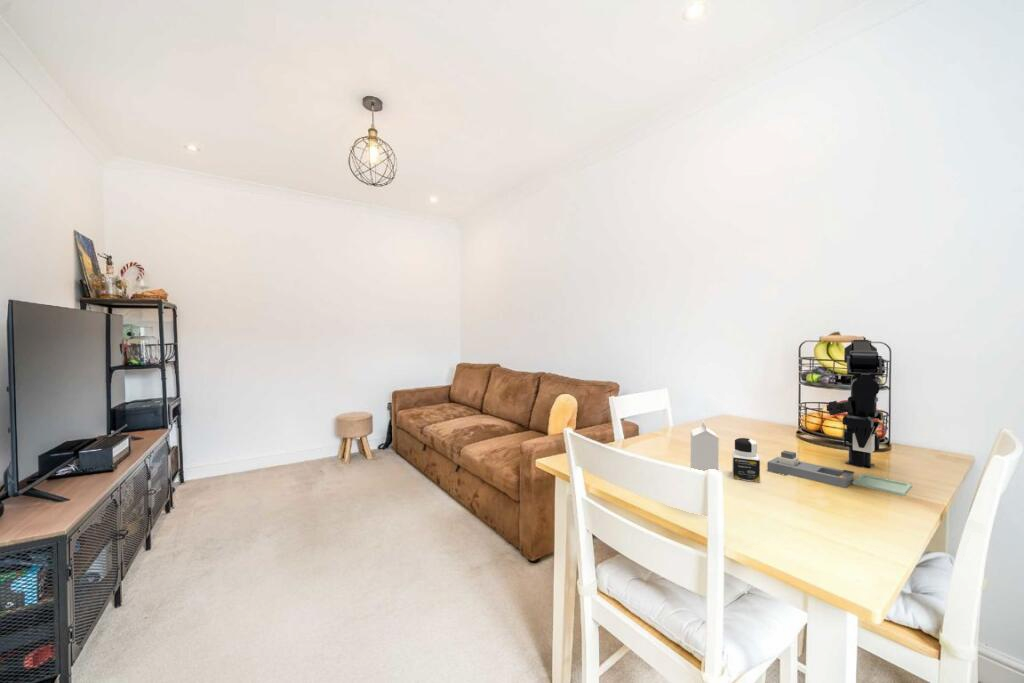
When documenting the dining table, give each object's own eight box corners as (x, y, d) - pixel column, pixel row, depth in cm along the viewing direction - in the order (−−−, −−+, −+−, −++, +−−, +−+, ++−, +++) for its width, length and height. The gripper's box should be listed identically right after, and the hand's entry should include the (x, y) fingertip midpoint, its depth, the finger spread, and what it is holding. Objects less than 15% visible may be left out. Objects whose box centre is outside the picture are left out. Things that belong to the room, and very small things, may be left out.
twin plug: (783, 468, 132) (783, 449, 132) (798, 472, 128) (798, 452, 128) (778, 471, 129) (778, 452, 129) (793, 475, 126) (793, 455, 126)
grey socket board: (778, 465, 135) (778, 455, 135) (854, 482, 119) (854, 471, 119) (767, 470, 130) (767, 460, 130) (845, 489, 113) (845, 478, 113)
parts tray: (862, 477, 123) (862, 473, 123) (911, 488, 114) (911, 484, 114) (852, 485, 117) (852, 481, 116) (904, 497, 108) (904, 493, 108)
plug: (855, 447, 120) (856, 426, 120) (874, 450, 116) (874, 428, 116) (852, 449, 117) (852, 428, 117) (871, 453, 114) (871, 431, 114)
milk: (693, 507, 103) (692, 424, 102) (690, 498, 109) (689, 419, 108) (719, 510, 101) (718, 425, 100) (714, 501, 107) (714, 420, 106)
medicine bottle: (733, 478, 123) (733, 440, 123) (732, 471, 129) (732, 435, 129) (759, 482, 119) (760, 443, 119) (757, 475, 126) (758, 438, 126)
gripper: (837, 388, 129) (836, 436, 129) (820, 393, 117) (820, 446, 117) (883, 392, 120) (883, 443, 120) (870, 398, 108) (870, 454, 108)
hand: (863, 446), depth 117 cm, fingers closed on plug, 4 cm apart
